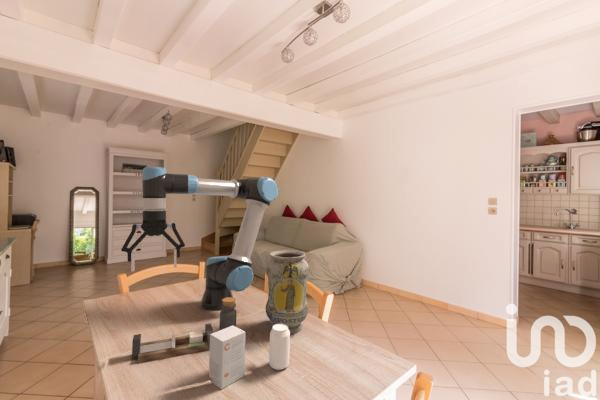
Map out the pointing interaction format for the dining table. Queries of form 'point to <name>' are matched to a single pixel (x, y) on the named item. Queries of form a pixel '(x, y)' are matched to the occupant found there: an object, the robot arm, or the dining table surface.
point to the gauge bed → (178, 347)
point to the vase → (287, 289)
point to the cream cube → (195, 337)
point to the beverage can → (279, 346)
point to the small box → (227, 356)
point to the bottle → (228, 313)
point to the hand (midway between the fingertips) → (154, 268)
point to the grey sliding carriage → (149, 346)
